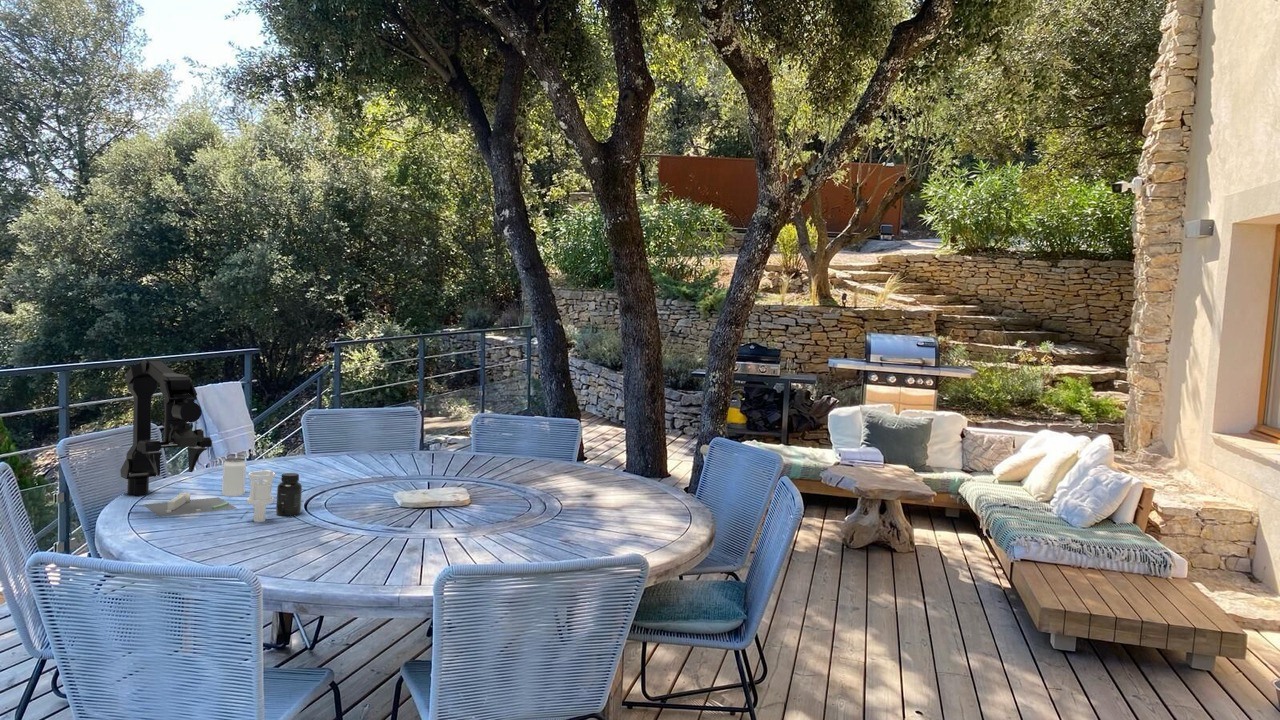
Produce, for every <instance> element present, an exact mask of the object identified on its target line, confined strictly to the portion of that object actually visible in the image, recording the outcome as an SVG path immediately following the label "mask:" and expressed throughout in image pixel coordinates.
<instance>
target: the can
mask: <svg viewBox="0 0 1280 720" xmlns="http://www.w3.org/2000/svg"><path fill="white" fill-rule="evenodd" d="M246 464H247V463H246V461H245V458H241V457H229V458H225V459H224V462H223V469H222V486H221V487H222V489H221V491H222V492H221V494H222V496H226V497H239V496H244V495H245V489H246V474H247V473H246V470H247V467H246V466H247V465H246Z"/></svg>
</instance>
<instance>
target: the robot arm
mask: <svg viewBox="0 0 1280 720" xmlns="http://www.w3.org/2000/svg"><path fill="white" fill-rule="evenodd" d="M125 382H126V385H127V386H126V387H127V390H128V391H129V393H130V395H131V396H132V398H133V407H132V408H133V409H132V410H133V414H132V415H133V418H132V423H133V425H132V446H130V448H129V449H128V451H127V452H126V459H125V460H124V461H123V464H122V466H121V468H120V471H119V472H120V477H121V478H123V479H125V480H127V483H126V484H127V489H126V490H127V491H126V494H127V496H133V497H145V496H147V495H148V494H149V491H150V489H149V488H150V486H149V485H150V478H152V477H154V478H155V477H160V476H161V456H162V454H163V452H162V451H161V449H167V448H181V449H185V448H187V458H188V459H187V460H188V472H189V473H193V471H194V469H195V467H196V464H197V462H198V460H199V458H200V456H201V454H202V453H203V452H205V451H208V448H212V447H213V440H212V439H211V437H209V436H204V434H205V432H204V430H203V429H201V428H199V429H197V428H195V429H194V430H191V426H190V423H194V422H195V423H196V422H197V421H198V420H199V419H200V418H201V416H202V414H203V413H202V411H203V409H202V408H201V406H200V405H199V404H198V403H196V402H195V401H197V399H198V397H197V396H198V393H197V390H196V388H195V385H194V383H193V381H192V379H191V378H190V376H188V375H186V374H182V373H176V372H175V371H173V370H172V369H171V368H170V367H169V366H167V365H166V364H165V363H164V361H163V360H162V359H160V358H145V359H142V361H140V362H139V363H137V364H135V365H133V366H131V367H130V368H129V369H128V371H126V374H125ZM158 385H159V386H158ZM158 387H159V390H160V392H161V394H162V396H163V398H164V399H163V403H164V422H162V423H161V424H162V426H161V427H162V428H163V427H164V432H163V435H164V436H163V437H161V440H156V439H152V397H153V395H154V394H155V393H156V391H157V390H158Z"/></svg>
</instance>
